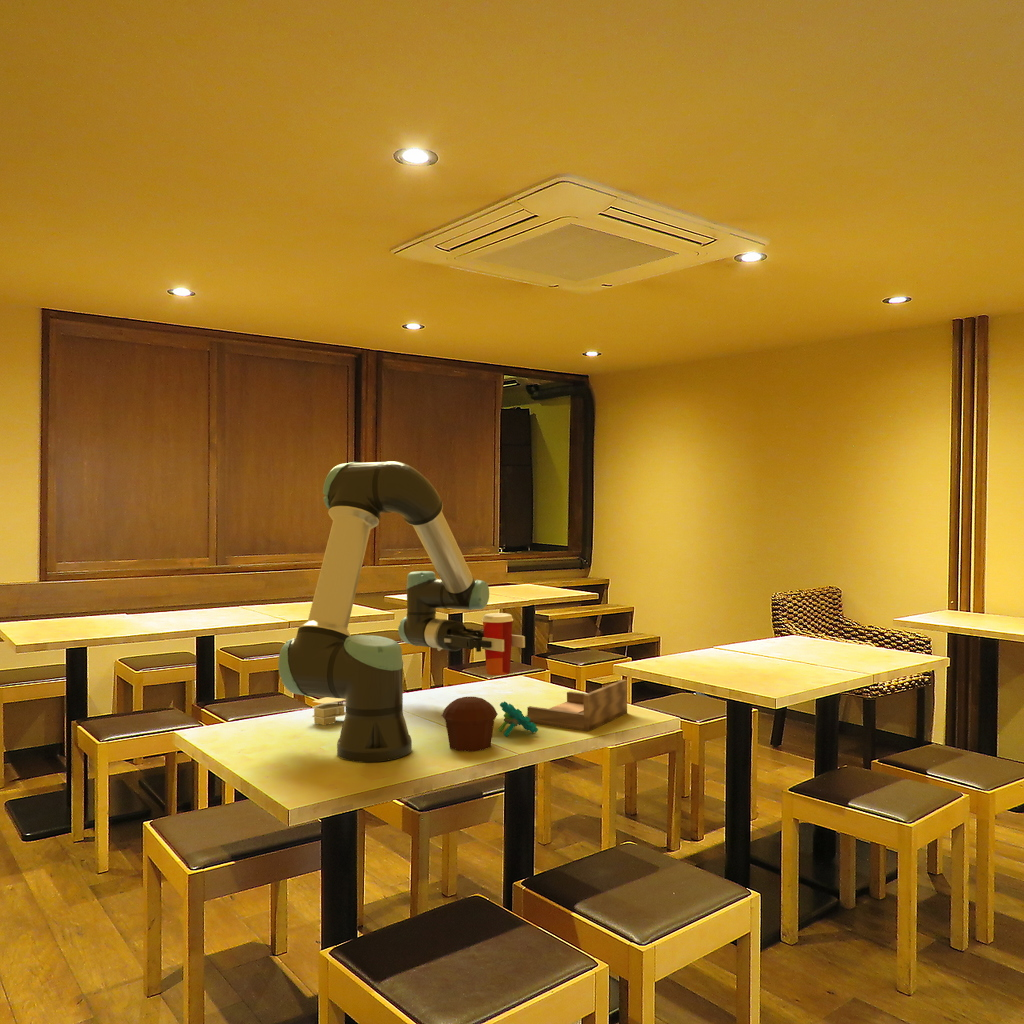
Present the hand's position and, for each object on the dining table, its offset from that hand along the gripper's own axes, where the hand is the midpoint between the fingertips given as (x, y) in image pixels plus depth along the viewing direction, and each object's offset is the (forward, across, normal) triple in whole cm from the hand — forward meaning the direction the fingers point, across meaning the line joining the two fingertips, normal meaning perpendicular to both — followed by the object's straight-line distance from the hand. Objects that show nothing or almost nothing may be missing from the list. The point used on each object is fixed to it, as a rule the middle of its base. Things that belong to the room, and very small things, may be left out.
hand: (513, 643), depth 202 cm
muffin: (+8, +22, -18) cm, 30 cm away
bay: (+10, -12, -18) cm, 24 cm away
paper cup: (-5, 0, -8) cm, 9 cm away
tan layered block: (-32, +30, -18) cm, 47 cm away
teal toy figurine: (+9, +9, -18) cm, 22 cm away
